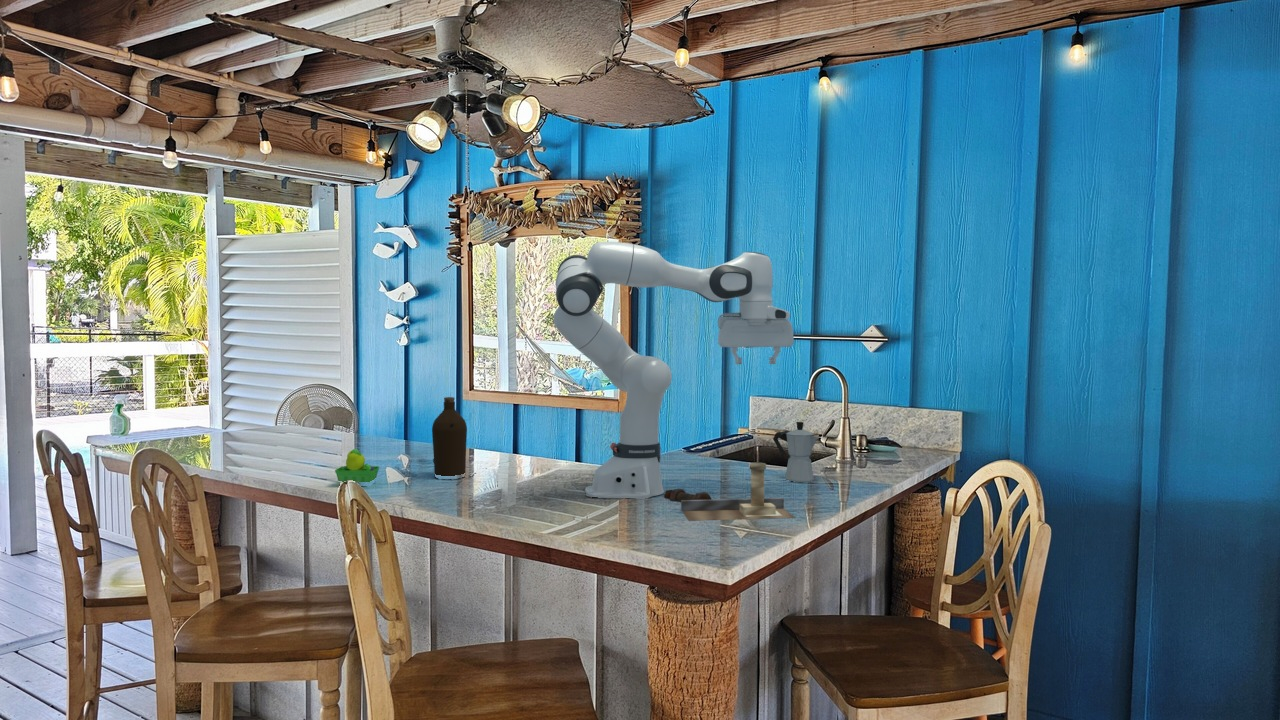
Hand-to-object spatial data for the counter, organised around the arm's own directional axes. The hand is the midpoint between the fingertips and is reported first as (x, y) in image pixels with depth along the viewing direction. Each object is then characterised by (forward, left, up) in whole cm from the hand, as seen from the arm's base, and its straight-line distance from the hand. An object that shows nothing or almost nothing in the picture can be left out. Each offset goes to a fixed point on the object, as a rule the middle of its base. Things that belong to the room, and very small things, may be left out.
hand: (755, 364), depth 224 cm
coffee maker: (+20, +27, -37) cm, 50 cm away
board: (-10, -21, -37) cm, 44 cm away
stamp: (-5, -21, -36) cm, 42 cm away
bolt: (-20, -6, -38) cm, 43 cm away
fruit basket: (-112, +34, -37) cm, 123 cm away
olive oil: (-86, +44, -37) cm, 104 cm away
